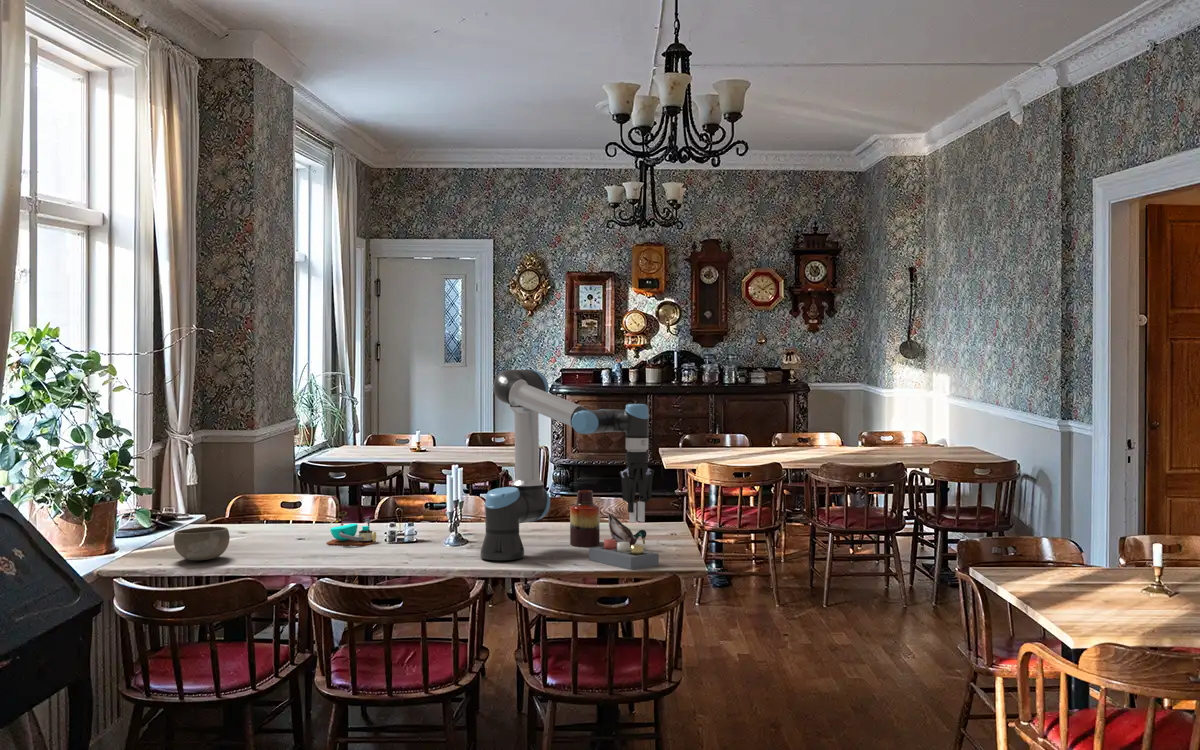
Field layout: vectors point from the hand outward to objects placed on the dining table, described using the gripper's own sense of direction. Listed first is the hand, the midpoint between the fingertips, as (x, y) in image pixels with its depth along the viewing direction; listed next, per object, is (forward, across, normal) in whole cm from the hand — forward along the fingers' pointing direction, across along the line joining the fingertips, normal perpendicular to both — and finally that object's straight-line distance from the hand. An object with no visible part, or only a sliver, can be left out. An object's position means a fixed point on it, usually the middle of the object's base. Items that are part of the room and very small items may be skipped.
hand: (636, 521), depth 337 cm
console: (+15, 0, +7) cm, 16 cm away
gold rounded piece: (+11, 0, 0) cm, 11 cm away
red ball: (+11, 0, +14) cm, 18 cm away
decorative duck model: (+14, +18, +23) cm, 32 cm away
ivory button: (+11, 0, +7) cm, 13 cm away
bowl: (+15, -108, +103) cm, 150 cm away
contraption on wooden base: (+15, -56, +97) cm, 113 cm away
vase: (+15, +10, +41) cm, 45 cm away
